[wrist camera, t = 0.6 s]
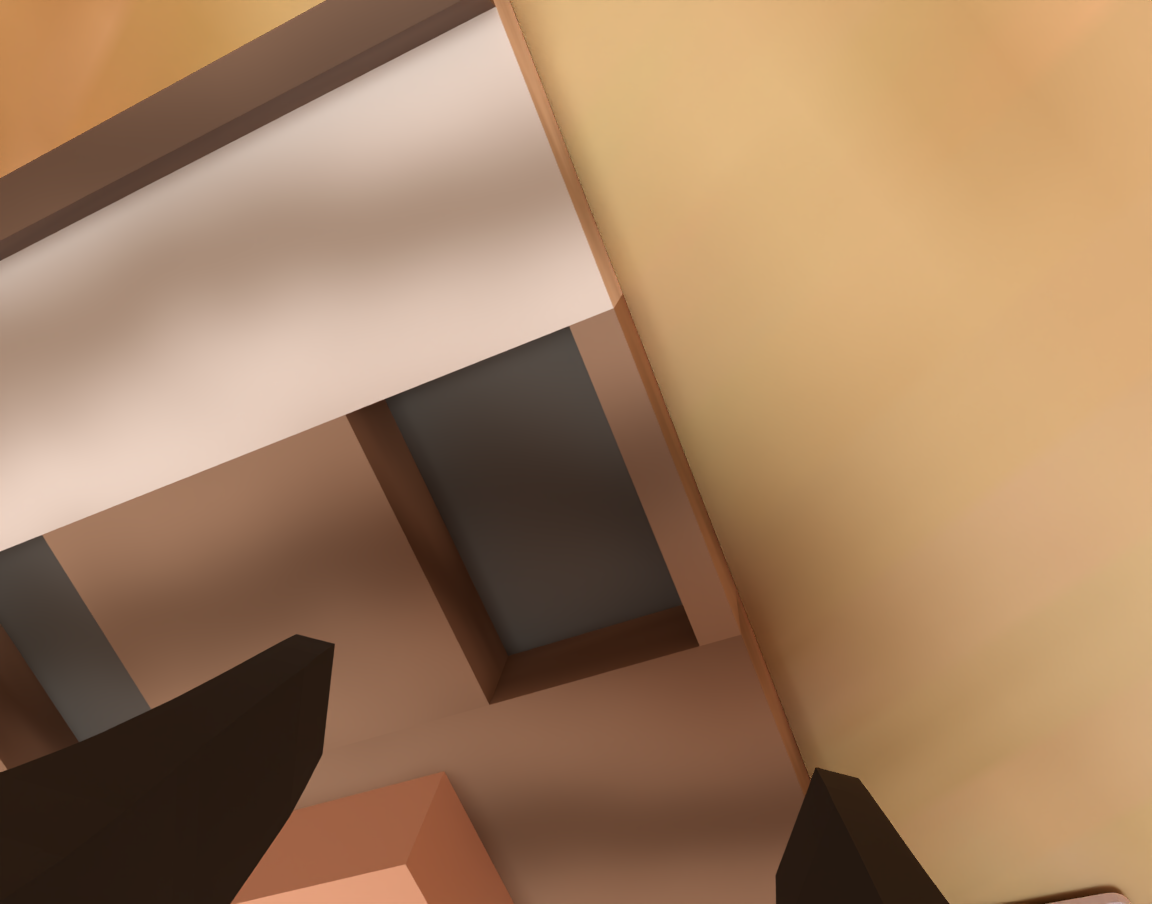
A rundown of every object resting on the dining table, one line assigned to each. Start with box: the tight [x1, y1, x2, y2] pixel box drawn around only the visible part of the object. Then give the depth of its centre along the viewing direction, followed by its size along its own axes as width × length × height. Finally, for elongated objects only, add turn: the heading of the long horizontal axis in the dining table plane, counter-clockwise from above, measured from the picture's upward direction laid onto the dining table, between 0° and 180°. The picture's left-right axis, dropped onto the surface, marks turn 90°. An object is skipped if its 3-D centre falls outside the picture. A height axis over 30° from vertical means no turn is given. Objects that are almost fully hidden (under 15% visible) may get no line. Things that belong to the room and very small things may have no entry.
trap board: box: [0, 0, 811, 904], centre depth 20 cm, size 24×22×4 cm
